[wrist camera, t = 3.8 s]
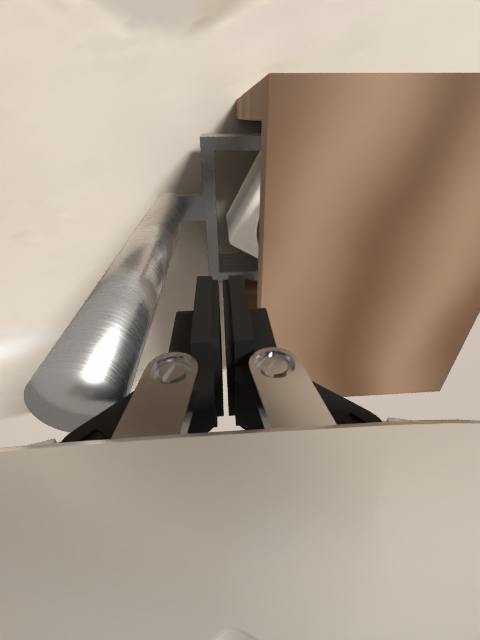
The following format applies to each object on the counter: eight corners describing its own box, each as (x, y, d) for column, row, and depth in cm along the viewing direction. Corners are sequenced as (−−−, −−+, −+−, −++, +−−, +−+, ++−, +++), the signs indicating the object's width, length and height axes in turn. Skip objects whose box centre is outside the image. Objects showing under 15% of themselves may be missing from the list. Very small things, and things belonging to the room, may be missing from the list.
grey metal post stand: (336, 132, 23) (710, 177, 6) (318, 258, 29) (478, 476, 11) (146, 134, 22) (-97, 195, 5) (165, 264, 28) (85, 505, 11)
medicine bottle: (289, 252, 30) (326, 320, 20) (224, 217, 28) (230, 273, 18) (335, 183, 27) (407, 222, 17) (266, 136, 24) (302, 149, 14)
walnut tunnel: (374, 99, 23) (600, 72, 10) (341, 271, 31) (439, 391, 18) (236, 99, 23) (269, 73, 9) (238, 275, 31) (257, 401, 17)
